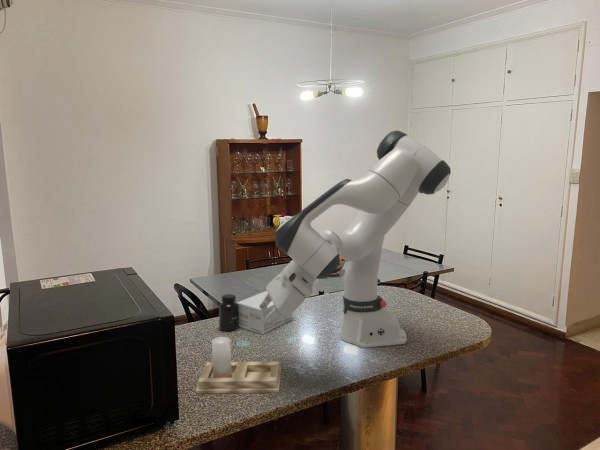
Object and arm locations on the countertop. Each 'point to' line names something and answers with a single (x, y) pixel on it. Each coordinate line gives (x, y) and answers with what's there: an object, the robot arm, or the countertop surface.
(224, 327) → the supplement bottle
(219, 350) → the white dome lamp
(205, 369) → the two-pocket rack
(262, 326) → the supplement box
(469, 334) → the countertop surface
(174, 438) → the countertop surface
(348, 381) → the countertop surface
